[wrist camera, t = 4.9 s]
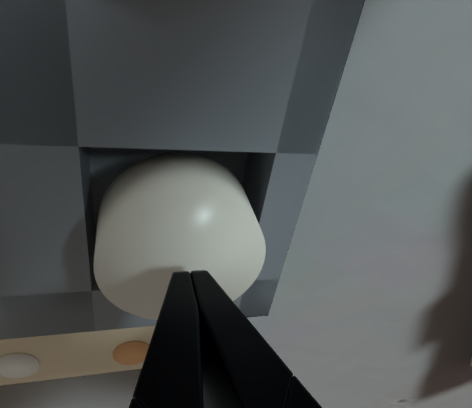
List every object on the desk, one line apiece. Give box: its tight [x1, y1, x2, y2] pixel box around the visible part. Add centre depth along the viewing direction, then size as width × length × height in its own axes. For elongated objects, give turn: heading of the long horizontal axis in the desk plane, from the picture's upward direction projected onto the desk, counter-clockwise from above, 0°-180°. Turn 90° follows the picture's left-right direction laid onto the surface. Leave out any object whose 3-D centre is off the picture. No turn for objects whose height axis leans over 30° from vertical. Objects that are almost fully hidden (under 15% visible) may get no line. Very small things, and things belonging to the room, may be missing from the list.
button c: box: [93, 153, 266, 320], centre depth 11 cm, size 4×4×2 cm
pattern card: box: [0, 326, 155, 386], centre depth 17 cm, size 12×6×1 cm, turn 81°
